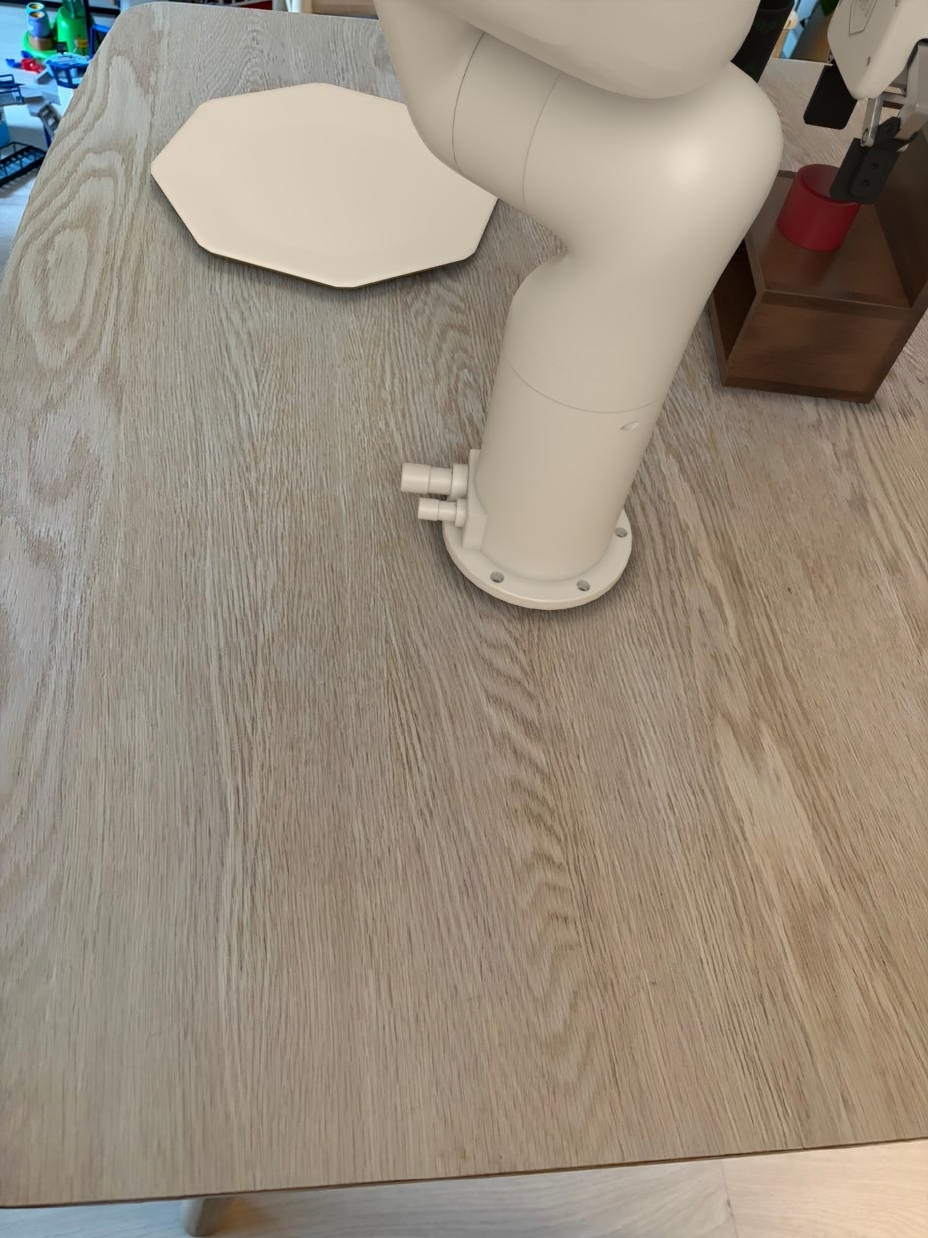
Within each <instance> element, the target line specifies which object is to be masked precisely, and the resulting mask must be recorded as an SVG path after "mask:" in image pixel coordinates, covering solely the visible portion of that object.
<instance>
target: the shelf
mask: <svg viewBox="0 0 928 1238" xmlns="http://www.w3.org/2000/svg"><path fill="white" fill-rule="evenodd" d="M899 112H900V110H898V113H897V115H896V117H898V115H899ZM796 173H797V171H794V170H791V171H790V170H785V169H779V170H778V173H777V176H776V178H775V180H774V183H773V185H772V188H771V190H770V193H769V195H768V197H767V198H766V200H765V202H764V204H763V206H762V208H761V210H760V212H759V214H758V215H757V217H756V218H755V220H754V222H753V223H752V225H751V226H750V228H749V230H748V231H747V233H746V235H745V236H744V238H743V239H742V241H741V243H740V244H739V246H738V248H737V249H736V251H735V252H734V254H733V256H732V257H731V259H730V261H729V262H728V264H727V266H726V267H725V269H724V271H723V272H722V274H721V276H720V278H719V279H718V281H717V283H716V285H715V287H714V289H713V291H712V292H711V294H710V296H709V298H708V300H707V302H706V304H707V308H708V314H709V319H710V325H711V330H712V336H713V342H714V348H715V352H716V358H717V363H718V369H719V374H720V380H721V385H722V387H726V388H727V387H728V388H735V389H736V388H737V389H743V390H753V391H761V392H770V393H777V394H785V395H787V394H788V395H795V396H802V397H811V398H820V399H828V400H836V401H846V402H853V403H858V404H859V403H860V404H867V405H868V404H871V402H872V401H873V399H874V397H875V396H876V395H877V392H878V391H879V389H880V387H881V386H882V384H883V383H884V381H885V380H886V378H887V376H888V374H889V373H890V371H891V370H892V368H893V366H894V364H895V363H896V361H897V359H898V358H899V356H900V354H901V353H902V351H903V350H904V348H905V346H906V345H907V343H908V342H909V340H910V339H911V336H912V335H913V334H914V332H915V330H916V328H917V327H918V325H919V324H920V322H921V320H922V318H923V317H924V316H925V314H926V312H927V311H928V121H927V122H926V123H925V124H924V125H923V127H922V128H921V129H920V131H919V132H918V136H917V137H916V138H915V139H914V140H913V141H912V142H910V143H909V145H908V147H907V149H906V151H905V152H904V153H900V155H899V157H898V159H897V161H896V163H895V165H894V167H893V169H892V171H891V173H890V175H889V176H888V178H887V180H886V182H885V184H884V186H883V188H882V190H881V192H880V194H879V196H878V198H877V200H876V201H875V202H874V203H873V204H871V205H866V204H862V205H861V207H860V209H859V211H858V213H857V215H856V217H855V219H854V221H853V223H852V225H851V227H850V229H849V231H848V233H847V235H846V237H845V239H844V241H843V243H842V245H841V246H839V247H838V248H836V249H834V250H830V251H815V250H810V249H806V248H803V247H801V246H798V245H796V244H794V243H793V242H791V241H790V240H788V239H787V238H786V237H785V236H784V235H783V234H782V233H781V232H780V230H779V229H778V226H777V218H778V215H779V213H780V211H781V208H782V206H783V204H784V201H785V199H786V197H787V194H788V192H789V190H790V187H791V185H792V183H793V180H794V178H795V176H796Z"/></svg>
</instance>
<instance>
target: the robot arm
mask: <svg viewBox="0 0 928 1238" xmlns="http://www.w3.org/2000/svg"><path fill="white" fill-rule="evenodd" d="M372 2H373V5H374V8H375V12H376V16H377V18H378V21H379V24H380V28H381V32H382V34H383V37H384V41H385V45H386V47H387V51H388V54H389V57H390V61H391V63H392V67H393V70H394V73H395V77H396V80H397V83H398V86H399V89H400V92H401V95H402V98H403V101H404V104H406V107H407V110H408V113H409V115H410V118H411V120H412V123H413V125H414V127H415V129H416V131H417V133H418V135H419V137H420V138H421V140H422V141H423V143H424V144H425V146H426V147H427V148H428V149H429V151H430V152H431V153H432V154H433V155H434V156H435V157H436V158H437V159H438V160H440V161H441V162H442V163H443V164H445V165H446V166H447V167H449V168H450V169H452V170H453V171H455V172H456V173H457V174H459V175H461V176H462V177H464V178H465V179H467V180H469V181H470V182H472V183H473V184H475V185H477V186H479V187H480V188H482V189H484V190H485V191H487V192H489V193H490V194H492V195H494V196H495V197H497V198H498V200H501V201H502V202H504V203H506V204H507V205H509V206H510V207H512V208H514V209H516V210H517V211H519V212H521V213H522V214H524V215H526V216H527V217H529V218H530V219H531V220H532V221H533V222H535V223H537V224H538V225H539V226H541V227H543V228H545V229H547V231H550V232H551V233H553V234H554V235H555V236H556V237H557V238H559V240H560V241H562V244H564V246H565V247H566V248H565V249H564V250H562V251H559V252H558V253H556V254H555V255H553V256H551V257H549V258H548V259H546V260H544V261H543V262H542V263H541V264H540V265H538V266H537V267H536V268H535V269H534V270H532V271H531V272H530V274H528V275H527V276H526V277H525V278H524V280H523V281H522V282H521V284H520V285H519V286H518V288H517V290H516V291H515V293H514V295H513V298H512V300H511V301H510V302H511V303H510V306H509V309H508V311H507V316H506V321H505V325H504V329H503V336H502V343H501V347H500V353H499V358H498V362H497V367H496V373H495V377H494V382H493V387H492V391H491V397H490V401H489V406H488V411H487V416H486V421H485V426H484V430H483V435H482V439H481V443H480V444H481V445H480V448H478V449H477V448H471V449H470V450H469V454H468V458H467V459H468V460H467V463H457V462H452V464H451V468H448V467H440V466H431V464H427V463H419V462H410V461H403V462H402V469H401V478H400V487H399V488H400V489H399V492H401V493H411V494H422V495H428V494H433V495H435V494H436V495H443V496H447V498H446V500H440V499H436V498H428V497H419V498H418V502H417V514H416V519H417V520H422V521H423V520H425V521H432V522H433V521H434V522H437V521H441V529H442V531H441V533H442V538H443V542H444V545H445V548H446V550H447V552H448V554H449V556H450V559H451V560H452V562H453V563H454V564H455V565H456V567H457V568H458V570H459V571H460V572H461V573H462V574H463V576H464V577H466V578H467V579H468V580H469V581H470V582H472V583H473V585H475V586H476V587H477V588H479V589H481V590H482V591H484V592H485V593H487V594H489V595H490V596H492V597H493V598H496V599H498V600H501V601H503V602H506V603H508V604H511V605H515V606H519V607H522V608H526V609H533V610H534V609H535V610H543V611H544V610H545V611H552V610H553V611H555V610H567V609H572V608H576V607H581V606H583V605H586V604H589V603H590V602H592V601H595V600H597V599H599V598H600V597H602V596H603V595H605V594H606V593H607V592H609V591H610V590H611V589H612V588H613V587H614V586H615V585H616V583H617V582H618V581H619V580H620V579H621V577H622V575H623V573H624V572H625V569H626V567H627V565H628V562H629V559H630V557H631V553H632V548H633V533H632V526H631V522H630V520H629V517H628V515H627V512H626V510H625V508H624V506H625V504H626V501H627V499H628V496H629V493H630V491H631V489H632V486H633V483H634V481H635V478H636V475H637V473H638V470H639V468H640V465H641V462H642V460H643V458H644V455H645V452H646V451H647V448H648V444H649V442H650V440H651V437H652V434H653V432H654V429H655V427H656V424H657V421H658V420H659V417H660V414H661V411H662V409H663V406H664V404H665V401H666V398H667V396H668V393H669V391H670V389H671V385H672V383H673V381H674V379H675V376H676V373H677V372H678V371H677V370H678V369H679V367H680V363H681V361H682V358H683V356H684V354H685V351H686V349H687V346H688V344H689V342H690V339H691V337H692V334H693V333H694V330H695V328H696V325H697V323H698V320H699V319H700V317H701V315H702V313H703V311H704V308H705V306H706V304H707V300H708V298H709V296H710V294H711V292H712V291H713V289H714V287H715V285H716V283H717V281H718V279H719V278H720V276H721V274H722V272H723V271H724V269H725V267H726V266H727V264H728V262H729V261H730V259H731V257H732V256H733V254H734V252H735V251H736V249H737V248H738V246H739V244H740V243H741V241H742V239H743V238H744V236H745V235H746V233H747V231H748V230H749V228H750V226H751V225H752V223H753V222H754V220H755V218H756V217H757V215H758V214H759V212H760V210H761V208H762V206H763V204H764V202H765V200H766V198H767V197H768V195H769V193H770V190H771V188H772V185H773V183H774V180H775V178H776V176H777V173H778V170H780V168H781V167H780V166H781V163H782V157H783V152H784V134H783V132H784V131H783V128H782V122H781V120H780V119H781V118H780V117H779V114H778V111H777V109H776V107H775V105H774V104H773V102H772V100H771V99H770V97H769V96H768V94H767V93H766V91H764V89H763V88H762V87H761V86H760V85H759V83H758V84H757V83H756V82H755V81H754V80H753V79H752V78H751V77H750V76H748V75H747V74H746V73H744V72H743V71H742V70H741V69H739V68H738V67H737V66H735V65H734V64H733V63H731V62H730V61H731V60H732V59H733V58H734V56H735V55H736V53H737V52H738V50H739V49H740V47H741V46H742V44H743V42H744V40H745V38H746V36H747V35H748V33H749V31H750V28H751V26H752V23H753V20H754V17H755V14H756V11H757V9H758V6H759V3H760V0H372ZM827 42H828V46H829V49H828V51H827V55H826V63H827V64H824V65H823V68H822V70H821V72H820V75H819V76H818V79H817V82H816V84H815V86H814V89H813V91H812V93H811V96H810V99H809V100H808V103H807V105H806V108H805V109H804V113H803V115H802V119H803V122H804V124H805V125H808V126H813V127H819V128H824V129H832V130H836V131H841V130H844V129H845V128H846V127H847V125H848V123H849V121H850V119H851V117H852V114H853V112H854V111H855V108H856V105H857V104H858V102H859V101H862V100H864V99H865V98H866V99H867V103H866V109H865V113H864V118H863V124H862V128H861V134H860V138H859V137H853V139H852V140H851V143H850V145H849V147H848V149H847V151H846V153H845V155H844V157H843V160H842V161H841V163H840V166H839V170H838V172H837V174H836V176H835V179H834V181H833V183H832V185H831V187H830V189H829V193H830V196H831V198H832V199H834V200H841V201H847V202H853V203H860V204H866V205H871V204H873V203H874V202H875V201H876V200H877V198H878V196H879V194H880V192H881V190H882V188H883V186H884V184H885V182H886V180H887V178H888V176H889V175H890V173H891V171H892V169H893V167H894V165H895V163H896V161H897V159H898V157H899V155H900V153H904V152H905V151H906V149H907V147H908V145H909V143H910V142H912V141H913V140H914V139H915V138H916V137H917V136H918V132H919V131H920V129H921V128H922V127H923V125H924V124H925V123H926V122H927V121H928V0H839V1H838V3H837V5H836V7H835V9H834V12H833V14H832V16H831V19H830V21H829V24H828V27H827ZM828 64H829V65H828ZM889 87H890V88H895V89H899V90H900V92H901V93H898V92H892V91H886V90H887V88H889ZM883 108H886V109H893V110H898V113H899V115H898V114H897V115H898V117H897V116H894V115H892V116H890V117H888V118H887V119H885V120H884V121H882V122H881V123H880V121H881V118H882V117H881V116H882V111H883ZM899 111H900V112H899Z"/></svg>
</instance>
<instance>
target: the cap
mask: <svg viewBox="0 0 928 1238" xmlns="http://www.w3.org/2000/svg"><path fill="white" fill-rule="evenodd" d="M839 168H840V166H839V167H838V166H836V165H832V164H825V163H810V164H806V165H803V166H801V167H800V168H799V169H798V170H797V171H796V172H797V173H796V176H795V178H794V180H793V183H792V185H791V187H790V190H789V192H788V194H787V197H786V199H785V201H784V204H783V206H782V208H781V211H780V213H779V215H778V218H777V226H778V229H779V230H780V232H781V233H782V234H783V235H784V236H785V237H786V238H787V239H788V240H790V241H791V242H793V243H794V244H796V245H798V246H801V247H803V248H806V249H810V250H815V251H830V250H834V249H836V248H838V247H839V246H841V245H842V243H843V241H844V239H845V237H846V235H847V233H848V231H849V229H850V227H851V225H852V223H853V221H854V219H855V217H856V215H857V213H858V211H859V209H860V207H861V205H862V204H860V203H853V202H847V201H841V200H834V199H832V198H831V196H830V193H829V189H830V187H831V185H832V183H833V181H834V179H835V176H836V174H837V172H838V170H839Z"/></svg>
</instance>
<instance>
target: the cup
mask: <svg viewBox="0 0 928 1238" xmlns="http://www.w3.org/2000/svg"><path fill="white" fill-rule="evenodd" d="M795 4H796V0H760V3H759V6H758V9H757V11H756V14H755V17H754V20H753V23H752V26H751V28H750V31H749V33H748V35H747V36H746V38H745V40H744V42H743V44H742V46H741V47H740V49H739V50H738V52H737V53H736V55H735V56H734V58H733V59H732V60H731V61H730V62H731V63H733V64H734V65H735V66H737V67H738V68H739V69H741V70H742V71H743V72H744V73H746V74H747V75H748V76H750V77H751V78H752V79H753V80H754V81H755V82H756V83H757V84H758V85H759V82H760V79H761V78H762V76H763V74H764V71H765V69H766V67H767V65H768V63H769V60H770V59H771V56H772V54H773V52H774V49H775V47H776V46H777V43H778V41H779V39H780V37H781V34H782V32H783V31H784V29H785V28H784V27H786V24H787V22H788V19H789V17H790V15H791V13H792V11H793V9H794V7H795Z"/></svg>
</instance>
